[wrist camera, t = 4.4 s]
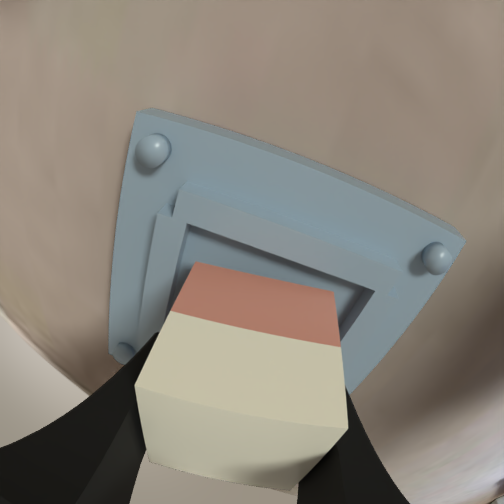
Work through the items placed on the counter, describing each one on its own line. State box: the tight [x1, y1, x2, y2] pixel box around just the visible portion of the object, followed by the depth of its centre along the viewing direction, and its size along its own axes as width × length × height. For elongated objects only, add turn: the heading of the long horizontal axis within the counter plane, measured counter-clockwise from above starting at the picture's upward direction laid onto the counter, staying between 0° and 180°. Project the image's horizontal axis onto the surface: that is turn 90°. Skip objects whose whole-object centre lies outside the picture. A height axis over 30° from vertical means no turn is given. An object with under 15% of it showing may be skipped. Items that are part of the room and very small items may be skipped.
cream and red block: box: [135, 261, 348, 491], centre depth 9 cm, size 4×4×5 cm
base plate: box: [109, 108, 466, 395], centre depth 13 cm, size 12×12×2 cm
